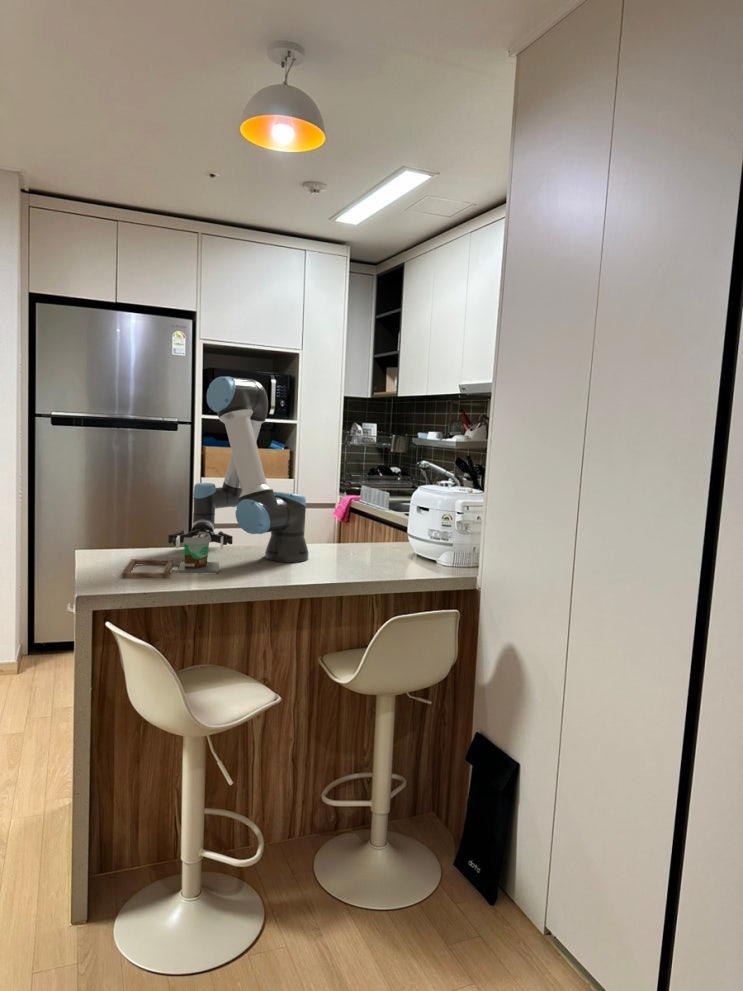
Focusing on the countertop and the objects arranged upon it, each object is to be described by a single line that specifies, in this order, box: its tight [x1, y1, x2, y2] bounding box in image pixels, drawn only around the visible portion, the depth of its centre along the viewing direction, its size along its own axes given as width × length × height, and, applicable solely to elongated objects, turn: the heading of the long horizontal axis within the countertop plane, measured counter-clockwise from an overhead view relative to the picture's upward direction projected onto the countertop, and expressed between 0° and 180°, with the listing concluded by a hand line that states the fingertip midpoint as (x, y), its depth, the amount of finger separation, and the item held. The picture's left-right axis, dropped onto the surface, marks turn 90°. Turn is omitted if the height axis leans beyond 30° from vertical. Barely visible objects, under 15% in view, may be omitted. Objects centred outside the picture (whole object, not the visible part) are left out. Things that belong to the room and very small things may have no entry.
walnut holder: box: [121, 558, 175, 579], centre depth 213 cm, size 13×19×2 cm
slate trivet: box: [177, 561, 220, 574], centre depth 219 cm, size 12×12×1 cm
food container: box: [182, 532, 212, 569], centre depth 218 cm, size 12×6×10 cm, turn 171°
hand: (199, 544), depth 215 cm, fingers open, 13 cm apart
